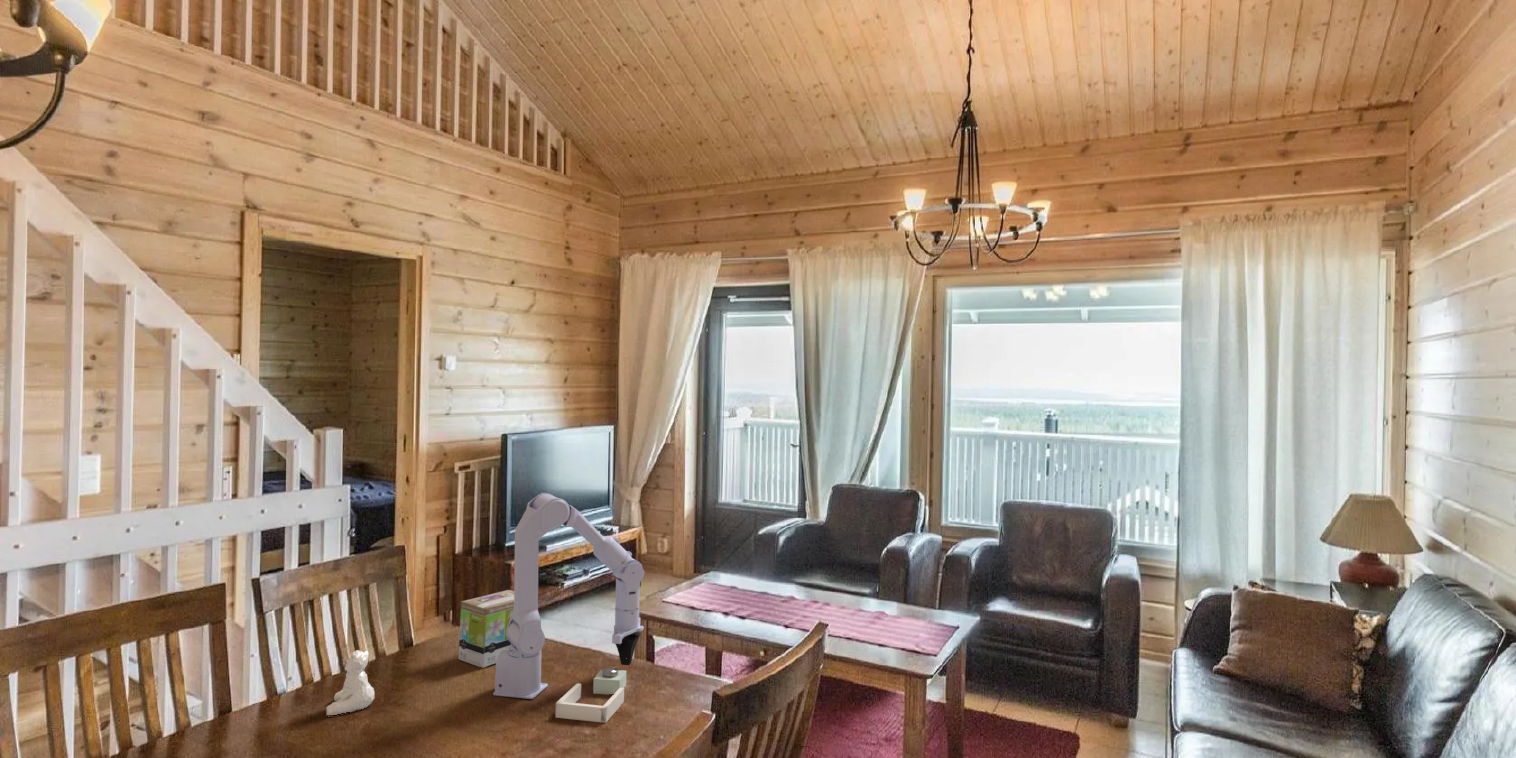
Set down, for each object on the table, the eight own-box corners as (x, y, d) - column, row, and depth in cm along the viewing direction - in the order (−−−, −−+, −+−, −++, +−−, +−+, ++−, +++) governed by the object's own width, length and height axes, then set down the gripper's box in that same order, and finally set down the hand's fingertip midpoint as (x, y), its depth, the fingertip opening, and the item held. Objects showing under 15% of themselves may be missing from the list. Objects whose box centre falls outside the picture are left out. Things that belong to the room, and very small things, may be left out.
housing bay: (555, 717, 170) (555, 703, 170) (576, 696, 181) (576, 683, 181) (605, 722, 168) (605, 708, 168) (623, 701, 179) (624, 688, 179)
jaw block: (593, 694, 183) (593, 674, 183) (600, 684, 189) (601, 664, 189) (619, 696, 182) (619, 675, 182) (626, 685, 188) (626, 666, 188)
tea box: (484, 669, 196) (485, 608, 196) (457, 660, 201) (458, 600, 201) (533, 652, 208) (534, 594, 208) (506, 644, 214) (507, 587, 214)
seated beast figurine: (336, 699, 176) (337, 644, 176) (379, 696, 179) (380, 641, 178) (324, 717, 167) (325, 659, 167) (370, 714, 169) (371, 656, 169)
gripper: (633, 617, 188) (631, 676, 188) (652, 600, 202) (651, 655, 202) (604, 615, 189) (602, 673, 189) (625, 598, 204) (624, 652, 204)
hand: (626, 664), depth 196 cm, fingers closed
